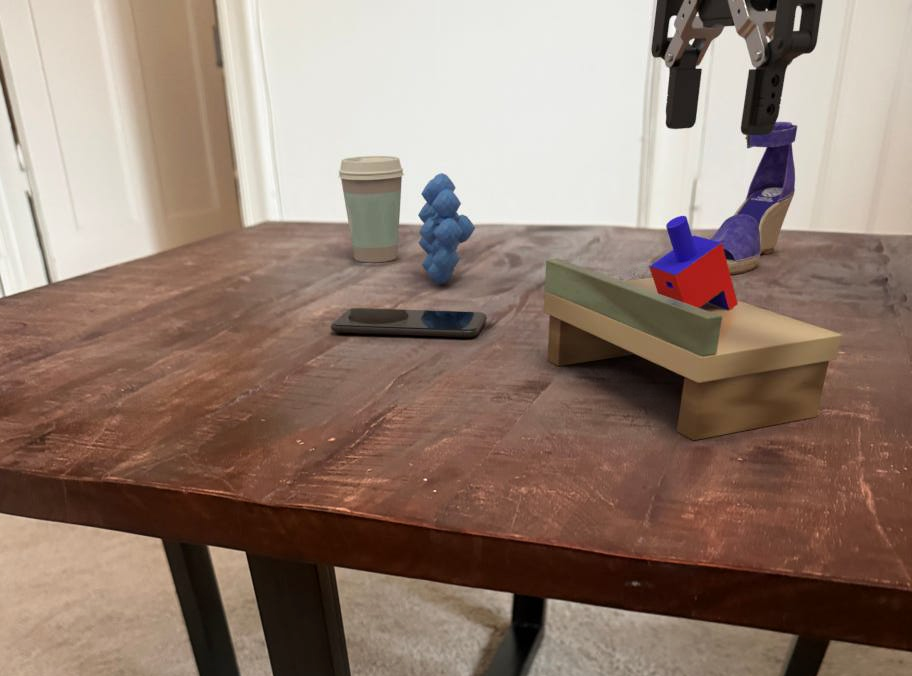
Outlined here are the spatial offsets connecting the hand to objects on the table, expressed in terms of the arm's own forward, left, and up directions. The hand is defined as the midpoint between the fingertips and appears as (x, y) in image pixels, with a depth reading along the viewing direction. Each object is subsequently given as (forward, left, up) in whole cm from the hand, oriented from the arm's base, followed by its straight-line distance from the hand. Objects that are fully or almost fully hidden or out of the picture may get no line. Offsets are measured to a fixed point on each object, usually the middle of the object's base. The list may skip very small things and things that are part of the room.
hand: (715, 131), depth 62 cm
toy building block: (0, 0, -12) cm, 12 cm away
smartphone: (+22, -21, -18) cm, 35 cm away
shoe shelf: (+1, 0, -18) cm, 18 cm away
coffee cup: (+26, -58, -18) cm, 66 cm away
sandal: (-21, -48, -18) cm, 55 cm away
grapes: (+17, -41, -18) cm, 48 cm away
